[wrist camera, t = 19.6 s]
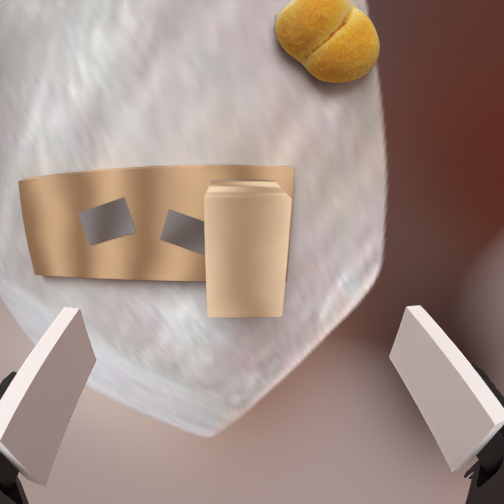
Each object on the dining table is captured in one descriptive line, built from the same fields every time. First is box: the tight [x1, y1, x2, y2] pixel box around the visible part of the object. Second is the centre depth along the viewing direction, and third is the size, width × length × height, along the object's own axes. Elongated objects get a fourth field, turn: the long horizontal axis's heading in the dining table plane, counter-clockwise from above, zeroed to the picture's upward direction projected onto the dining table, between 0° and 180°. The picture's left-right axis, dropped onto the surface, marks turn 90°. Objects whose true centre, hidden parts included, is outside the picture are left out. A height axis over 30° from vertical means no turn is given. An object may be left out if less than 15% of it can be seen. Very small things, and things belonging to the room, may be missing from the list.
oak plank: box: [19, 165, 295, 282], centre depth 25 cm, size 26×10×2 cm, turn 88°
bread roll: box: [274, 0, 380, 83], centre depth 19 cm, size 8×9×4 cm
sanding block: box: [204, 180, 292, 317], centre depth 22 cm, size 5×8×7 cm, turn 178°
